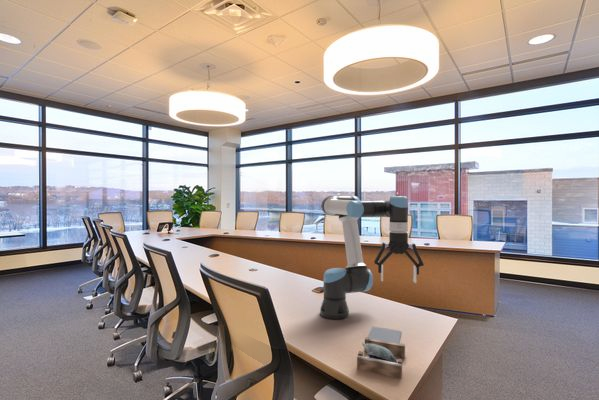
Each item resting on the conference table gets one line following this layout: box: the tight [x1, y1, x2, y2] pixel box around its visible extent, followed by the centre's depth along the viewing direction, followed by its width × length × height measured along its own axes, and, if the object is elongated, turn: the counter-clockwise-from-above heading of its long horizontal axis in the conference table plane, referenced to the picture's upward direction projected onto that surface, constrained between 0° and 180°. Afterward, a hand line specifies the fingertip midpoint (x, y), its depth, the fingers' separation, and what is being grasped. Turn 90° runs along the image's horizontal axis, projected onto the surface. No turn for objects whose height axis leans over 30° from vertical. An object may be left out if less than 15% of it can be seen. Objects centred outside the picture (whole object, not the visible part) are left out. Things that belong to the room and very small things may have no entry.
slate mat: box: [367, 326, 402, 344], centre depth 137 cm, size 13×16×1 cm
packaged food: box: [361, 342, 398, 363], centre depth 114 cm, size 9×12×5 cm
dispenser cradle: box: [356, 336, 406, 379], centre depth 116 cm, size 15×18×5 cm
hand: (398, 281), depth 134 cm, fingers open, 13 cm apart
